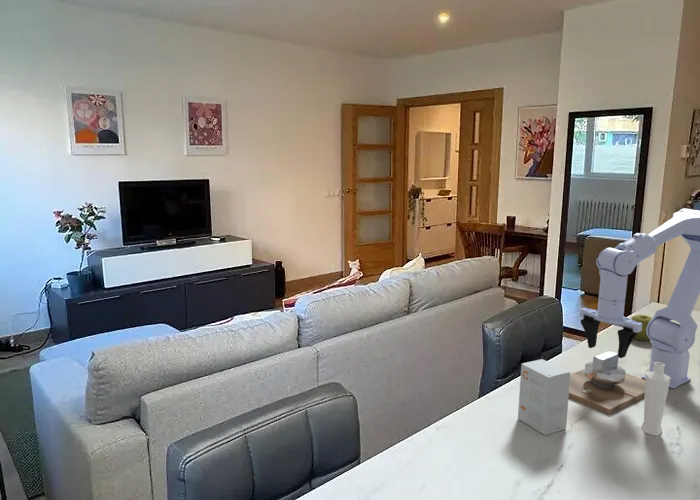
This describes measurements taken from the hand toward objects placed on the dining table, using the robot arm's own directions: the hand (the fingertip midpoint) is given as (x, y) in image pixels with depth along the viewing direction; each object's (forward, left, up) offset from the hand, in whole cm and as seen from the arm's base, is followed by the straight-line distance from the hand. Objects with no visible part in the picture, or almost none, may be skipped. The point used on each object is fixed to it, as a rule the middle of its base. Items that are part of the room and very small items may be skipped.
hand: (606, 351), depth 130 cm
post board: (0, 0, -10) cm, 10 cm away
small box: (+27, +2, -10) cm, 29 cm away
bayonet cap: (+1, 0, -6) cm, 6 cm away
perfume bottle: (+10, +17, -10) cm, 22 cm away
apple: (-43, -13, -10) cm, 46 cm away
